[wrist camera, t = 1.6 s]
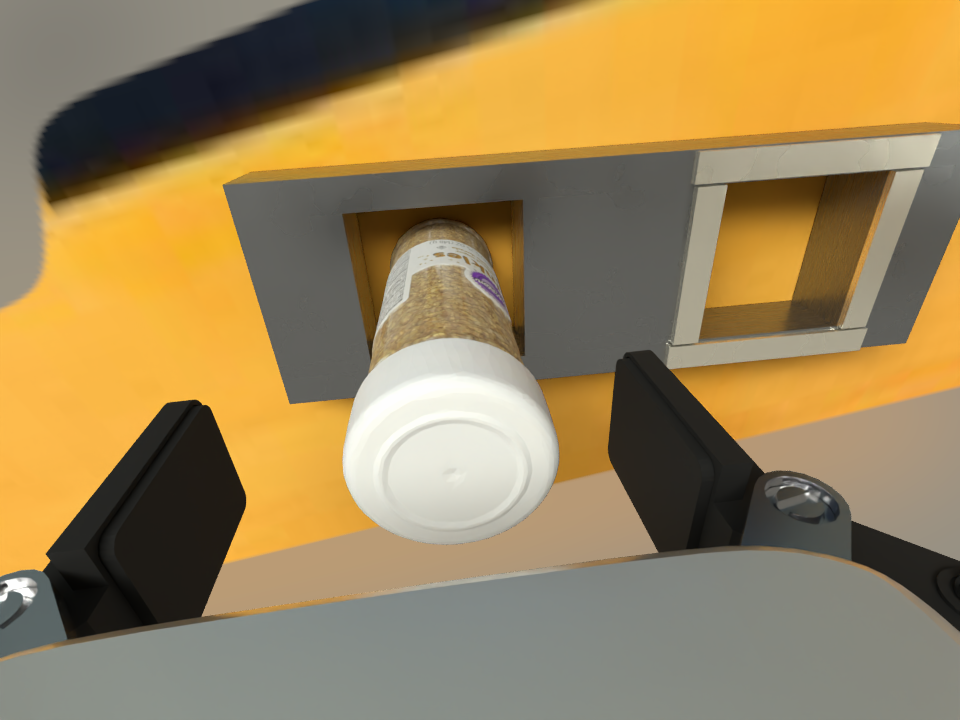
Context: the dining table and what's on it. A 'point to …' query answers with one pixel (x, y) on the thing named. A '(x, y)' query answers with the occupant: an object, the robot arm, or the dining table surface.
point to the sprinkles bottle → (447, 400)
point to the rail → (615, 248)
